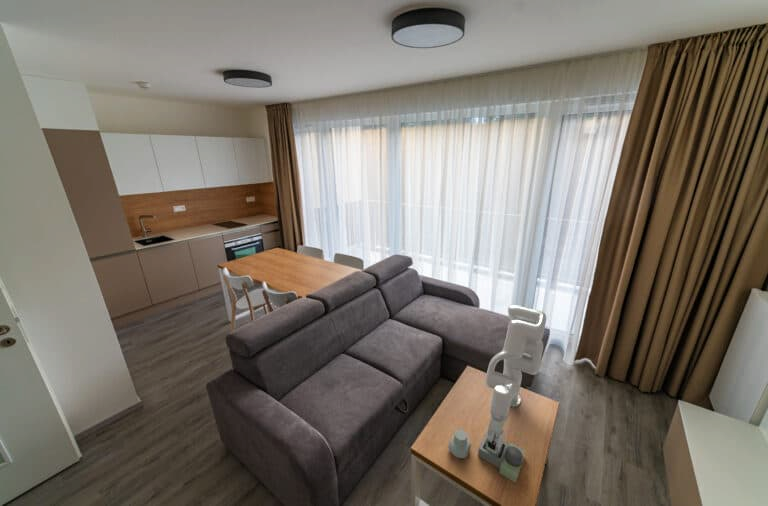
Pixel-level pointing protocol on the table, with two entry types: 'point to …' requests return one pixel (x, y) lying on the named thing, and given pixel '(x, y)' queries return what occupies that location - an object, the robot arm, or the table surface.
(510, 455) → the grey square sleeve
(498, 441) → the syrup box
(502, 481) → the table surface
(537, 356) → the robot arm
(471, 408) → the table surface
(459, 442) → the air freshener
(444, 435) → the table surface
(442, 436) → the table surface
